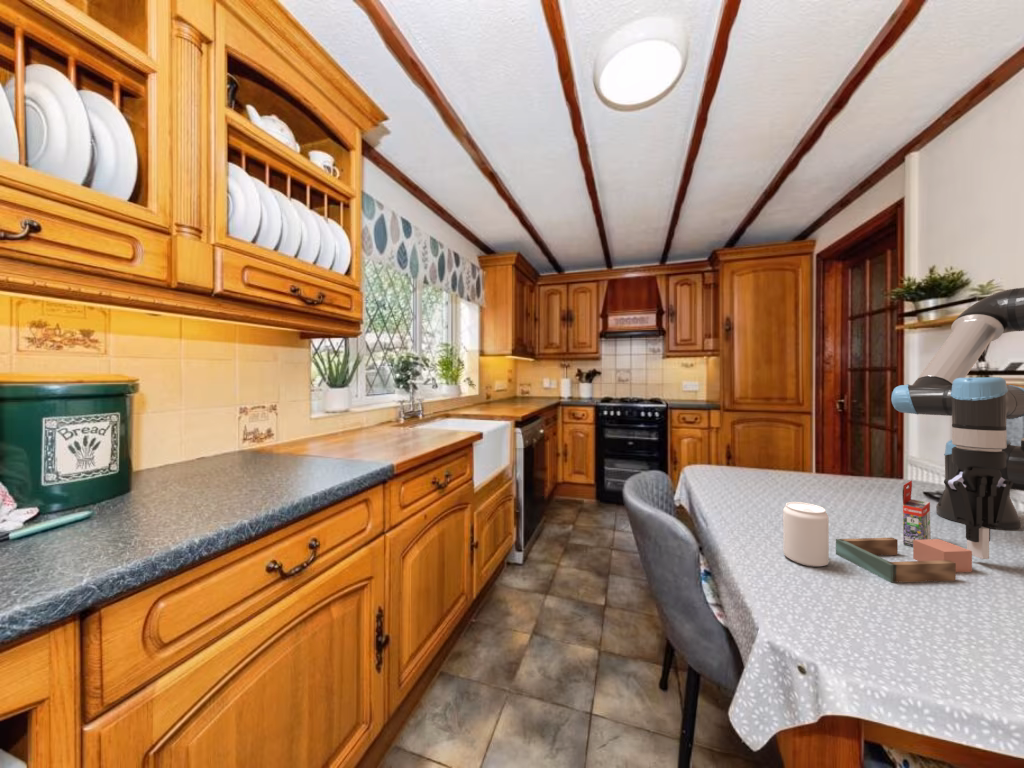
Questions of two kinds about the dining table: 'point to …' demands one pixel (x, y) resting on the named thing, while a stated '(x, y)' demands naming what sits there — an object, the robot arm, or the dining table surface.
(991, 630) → the dining table surface
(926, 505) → the ink box
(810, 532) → the beverage can
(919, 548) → the terracotta brick
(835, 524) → the dining table surface
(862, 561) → the bay
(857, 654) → the dining table surface
